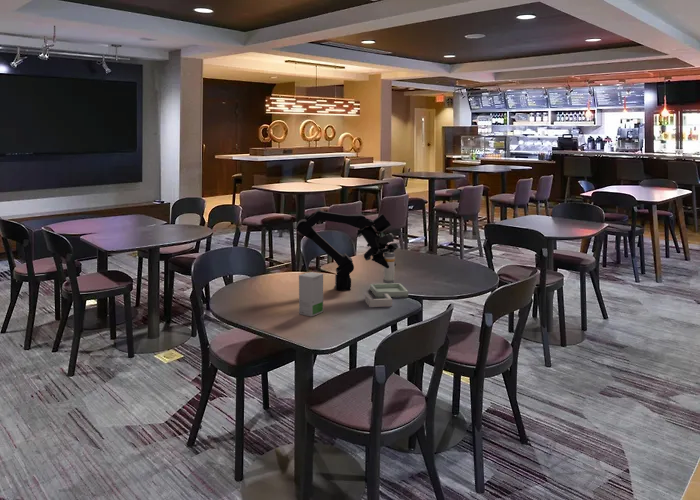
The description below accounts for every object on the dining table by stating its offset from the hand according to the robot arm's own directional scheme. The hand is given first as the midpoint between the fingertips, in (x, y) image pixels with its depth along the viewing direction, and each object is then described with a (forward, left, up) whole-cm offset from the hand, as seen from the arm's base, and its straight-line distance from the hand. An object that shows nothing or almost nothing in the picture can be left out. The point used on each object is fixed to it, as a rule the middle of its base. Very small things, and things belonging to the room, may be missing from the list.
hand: (391, 266), depth 253 cm
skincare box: (-38, -23, -12) cm, 46 cm away
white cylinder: (-1, +1, -7) cm, 7 cm away
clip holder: (-9, -14, -12) cm, 21 cm away
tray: (-1, +1, -12) cm, 12 cm away
